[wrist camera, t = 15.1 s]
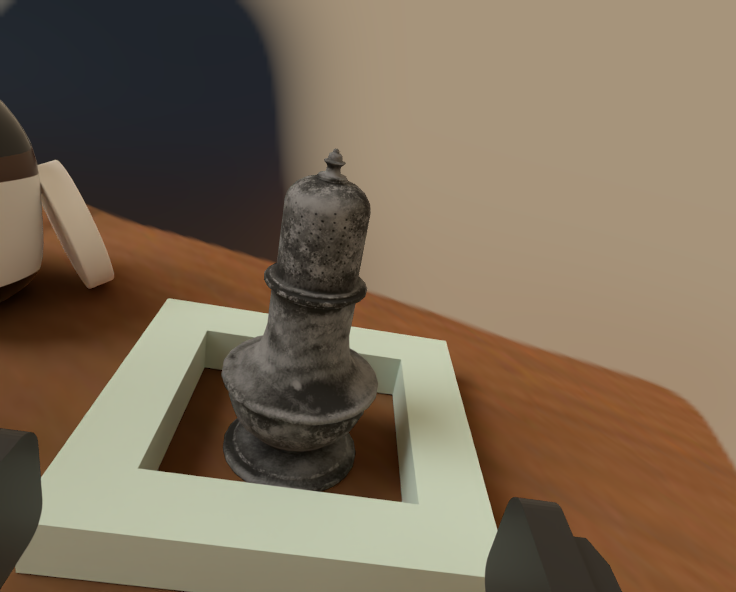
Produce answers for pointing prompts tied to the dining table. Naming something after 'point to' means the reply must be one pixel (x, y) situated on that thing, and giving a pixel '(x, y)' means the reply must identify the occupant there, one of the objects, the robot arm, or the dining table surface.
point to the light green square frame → (257, 501)
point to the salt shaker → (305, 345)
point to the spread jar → (24, 215)
